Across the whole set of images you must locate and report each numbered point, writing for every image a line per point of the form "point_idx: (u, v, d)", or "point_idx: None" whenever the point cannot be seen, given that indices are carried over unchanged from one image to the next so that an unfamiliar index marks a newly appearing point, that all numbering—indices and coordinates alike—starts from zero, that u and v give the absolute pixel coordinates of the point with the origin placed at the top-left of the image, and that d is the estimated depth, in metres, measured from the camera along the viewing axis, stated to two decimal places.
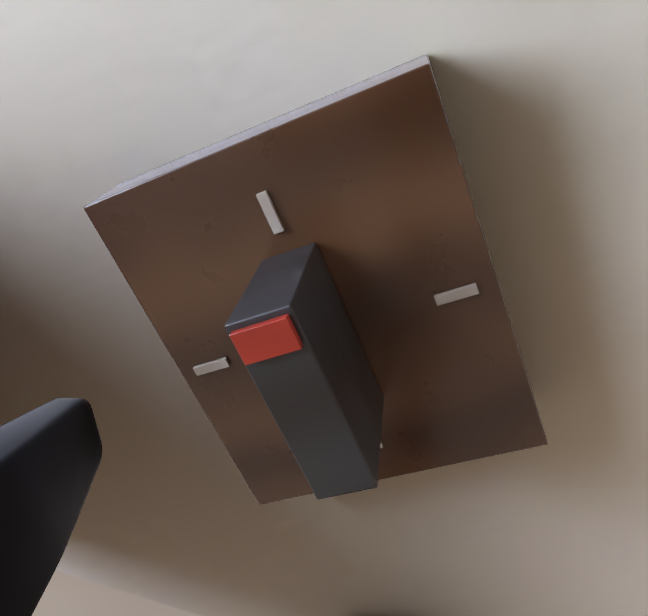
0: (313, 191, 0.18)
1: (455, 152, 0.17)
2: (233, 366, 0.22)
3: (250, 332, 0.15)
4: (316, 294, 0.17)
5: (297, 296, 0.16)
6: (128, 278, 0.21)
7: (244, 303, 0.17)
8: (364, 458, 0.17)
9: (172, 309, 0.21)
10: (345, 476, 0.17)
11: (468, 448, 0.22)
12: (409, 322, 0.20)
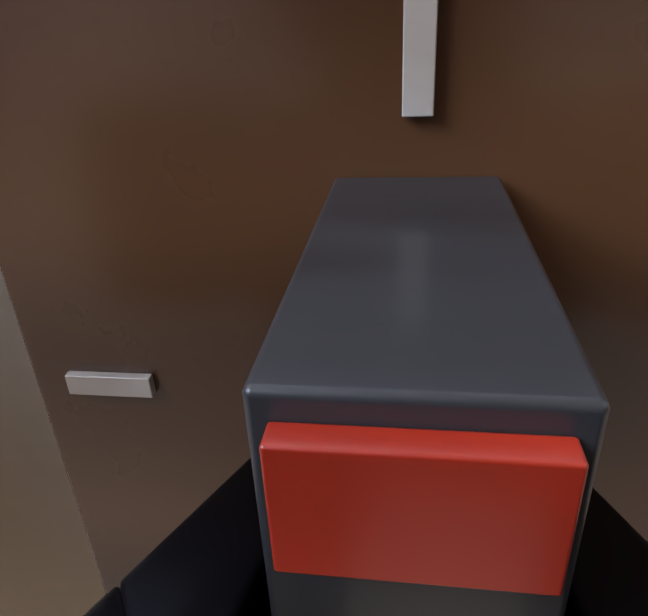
0: (566, 29, 0.06)
1: None
2: (162, 399, 0.09)
3: (366, 464, 0.03)
4: None
5: (577, 349, 0.04)
6: None
7: (324, 301, 0.04)
8: None
9: (53, 225, 0.08)
10: None
11: None
12: (609, 434, 0.08)
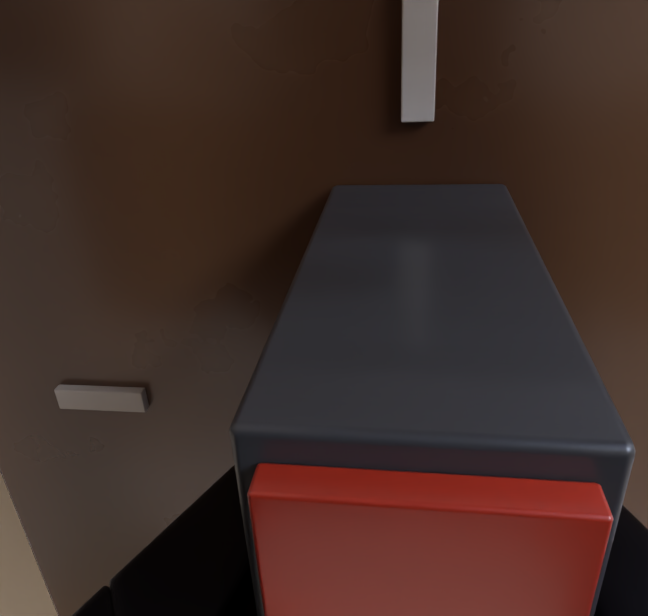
0: None
1: None
2: (389, 127, 0.07)
3: (366, 512, 0.03)
4: None
5: (596, 378, 0.03)
6: None
7: (319, 322, 0.04)
8: None
9: None
10: None
11: (54, 535, 0.11)
12: None
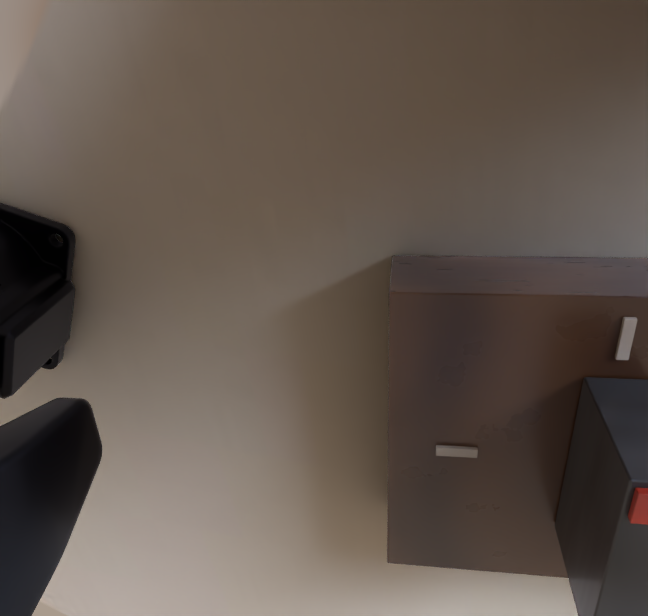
0: None
1: None
2: (609, 359, 0.18)
3: None
4: None
5: None
6: None
7: (629, 449, 0.15)
8: None
9: None
10: None
11: (404, 513, 0.22)
12: None
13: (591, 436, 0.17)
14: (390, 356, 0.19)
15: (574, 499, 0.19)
